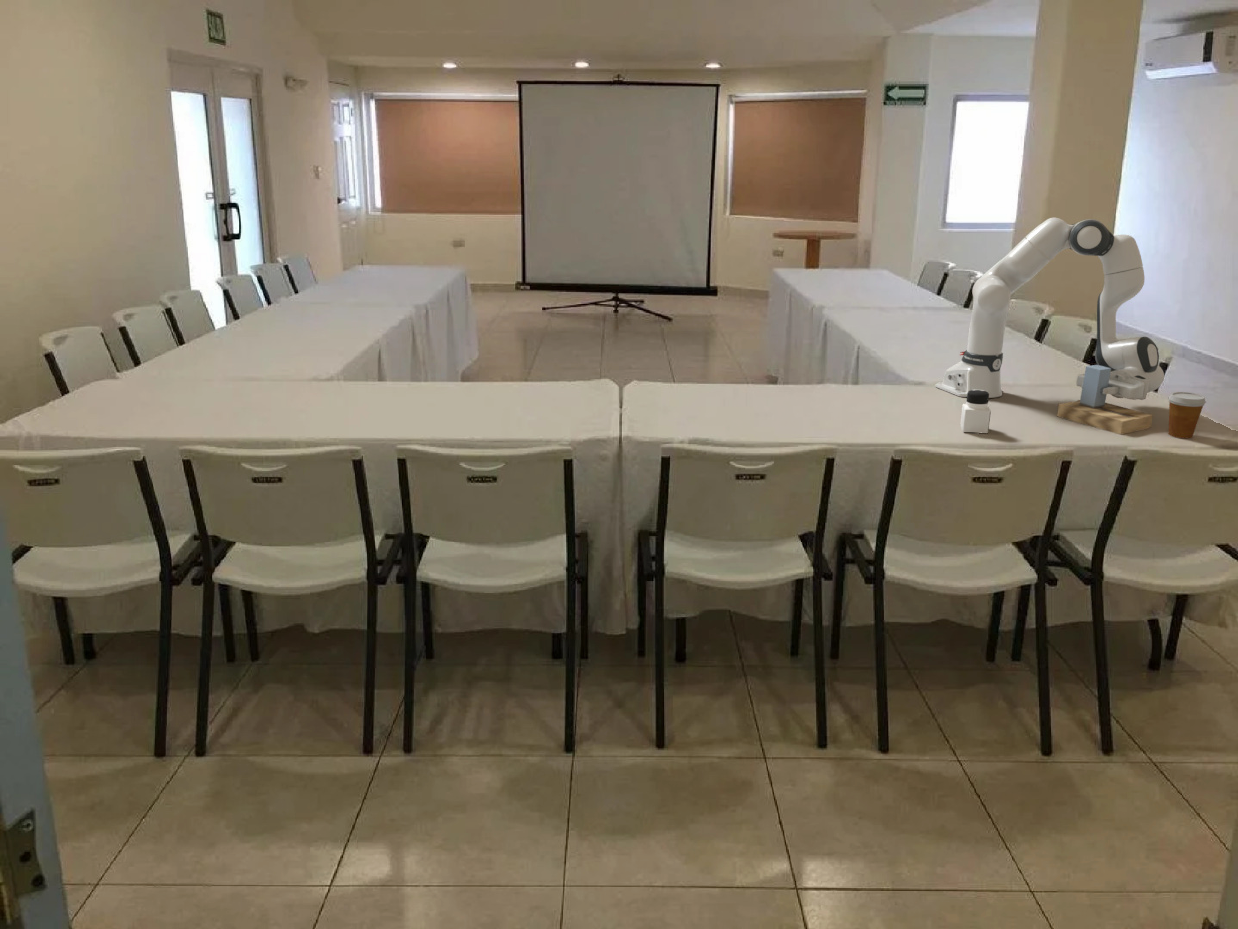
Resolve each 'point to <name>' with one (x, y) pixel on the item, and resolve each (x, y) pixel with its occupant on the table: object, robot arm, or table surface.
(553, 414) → the table surface
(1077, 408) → the board
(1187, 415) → the disposable coffee cup
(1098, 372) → the block
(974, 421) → the medicine bottle
